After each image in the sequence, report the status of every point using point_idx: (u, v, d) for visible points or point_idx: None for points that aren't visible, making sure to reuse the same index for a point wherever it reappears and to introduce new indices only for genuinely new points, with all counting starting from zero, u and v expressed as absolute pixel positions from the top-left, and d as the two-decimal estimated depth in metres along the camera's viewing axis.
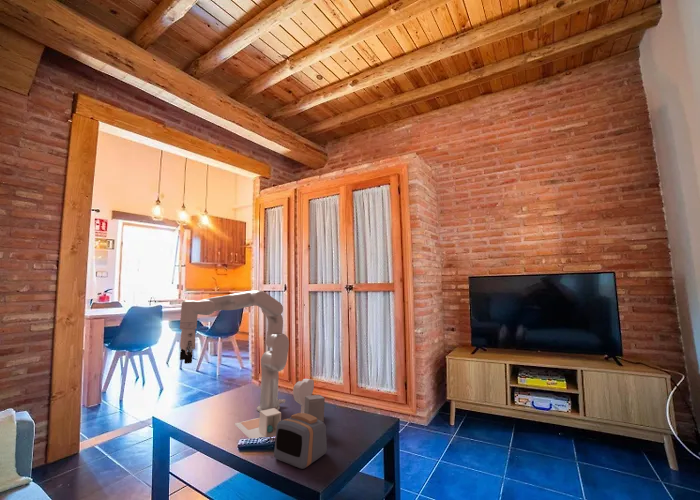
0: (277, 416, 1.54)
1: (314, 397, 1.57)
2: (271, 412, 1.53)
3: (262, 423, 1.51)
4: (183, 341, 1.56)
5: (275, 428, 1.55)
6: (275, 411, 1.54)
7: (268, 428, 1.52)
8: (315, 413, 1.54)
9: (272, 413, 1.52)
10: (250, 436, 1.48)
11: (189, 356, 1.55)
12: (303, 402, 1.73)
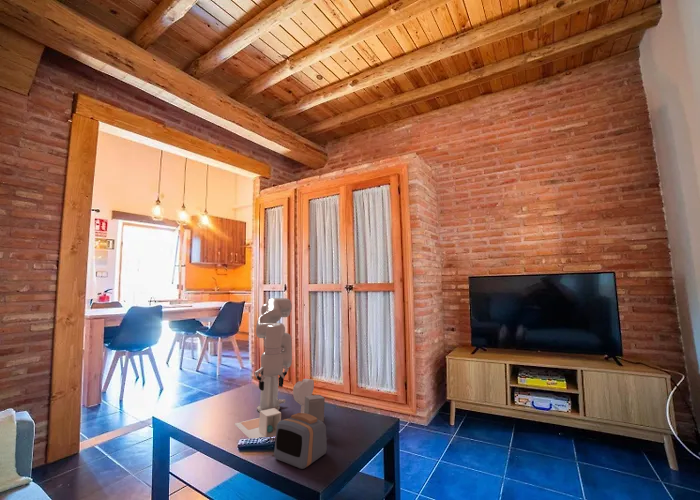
0: (277, 416, 1.54)
1: (314, 397, 1.57)
2: (271, 412, 1.53)
3: (262, 423, 1.51)
4: (279, 366, 1.56)
5: (275, 428, 1.55)
6: (275, 411, 1.54)
7: (268, 428, 1.52)
8: (315, 413, 1.54)
9: (272, 413, 1.52)
10: (250, 436, 1.48)
11: None
12: (303, 402, 1.73)
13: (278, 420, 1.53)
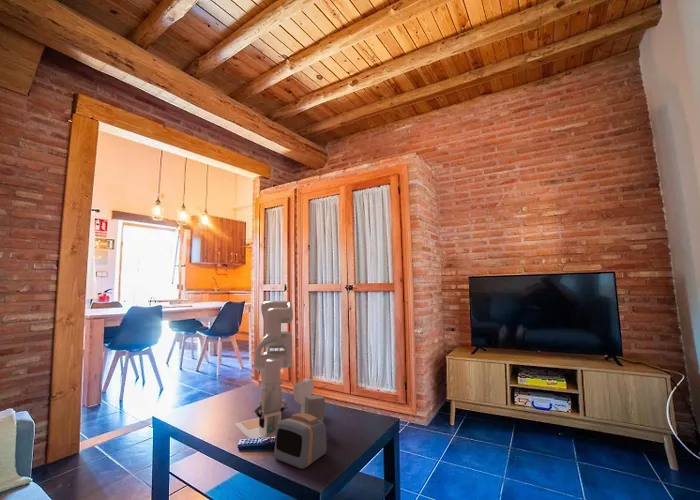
0: (277, 416, 1.54)
1: (314, 397, 1.57)
2: (271, 412, 1.53)
3: None
4: (278, 401, 1.54)
5: (275, 428, 1.55)
6: (275, 411, 1.54)
7: (268, 428, 1.52)
8: (315, 413, 1.54)
9: (272, 413, 1.52)
10: (250, 436, 1.48)
11: None
12: (303, 402, 1.73)
13: (278, 420, 1.53)
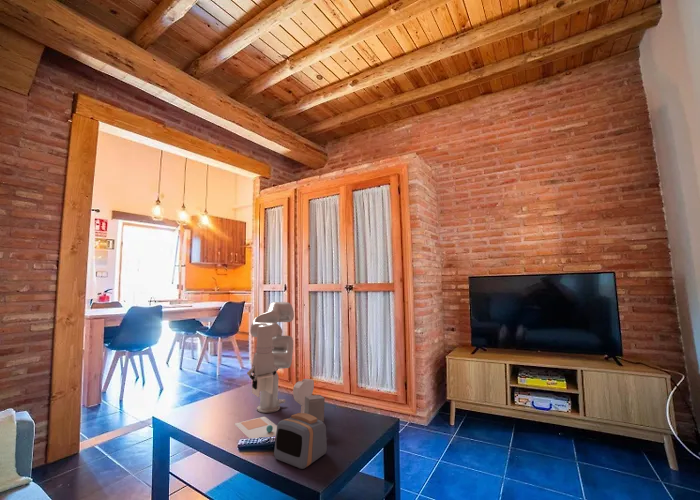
0: (269, 379, 1.62)
1: (314, 397, 1.57)
2: (264, 375, 1.60)
3: None
4: (270, 364, 1.62)
5: (267, 390, 1.63)
6: (267, 374, 1.62)
7: (268, 428, 1.52)
8: (315, 413, 1.54)
9: (265, 375, 1.59)
10: (250, 436, 1.48)
11: None
12: (303, 402, 1.73)
13: (270, 382, 1.61)
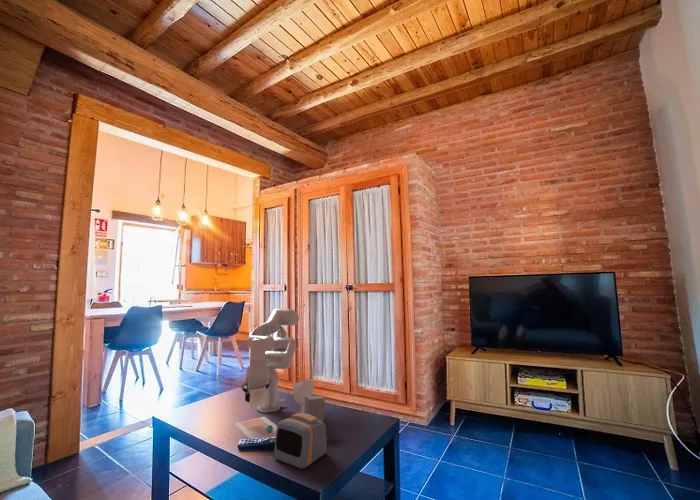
0: (262, 392, 1.64)
1: (314, 397, 1.57)
2: (256, 388, 1.63)
3: None
4: (263, 378, 1.64)
5: (260, 403, 1.64)
6: (260, 387, 1.64)
7: (268, 428, 1.52)
8: (315, 413, 1.54)
9: (257, 388, 1.61)
10: (250, 436, 1.48)
11: None
12: (303, 402, 1.73)
13: (263, 395, 1.63)
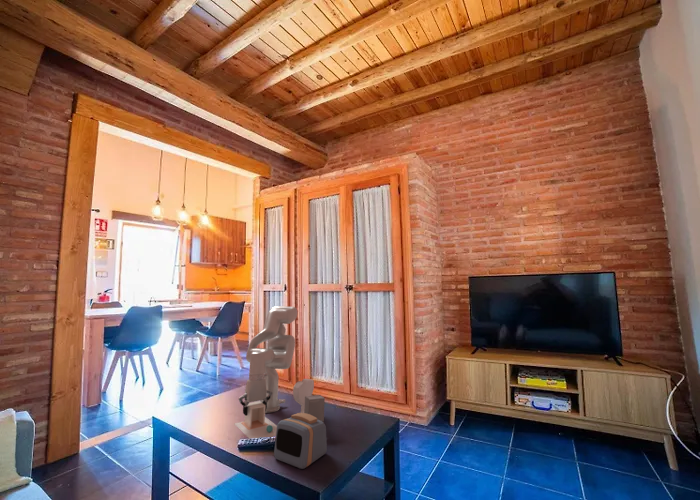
0: (262, 408, 1.63)
1: (314, 397, 1.57)
2: (256, 405, 1.62)
3: (247, 415, 1.60)
4: (263, 391, 1.63)
5: (260, 420, 1.64)
6: (260, 404, 1.63)
7: (268, 428, 1.52)
8: (315, 413, 1.54)
9: (257, 406, 1.61)
10: (250, 436, 1.48)
11: None
12: (303, 402, 1.73)
13: (262, 412, 1.62)
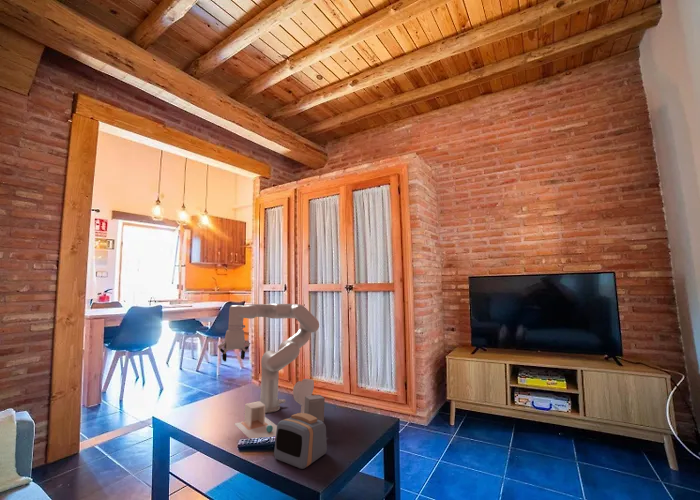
0: (262, 408, 1.63)
1: (314, 397, 1.57)
2: (256, 405, 1.62)
3: (247, 415, 1.60)
4: (241, 341, 1.78)
5: (260, 420, 1.64)
6: (260, 404, 1.63)
7: (268, 428, 1.52)
8: (315, 413, 1.54)
9: (257, 406, 1.61)
10: (250, 436, 1.48)
11: None
12: (303, 402, 1.73)
13: (262, 412, 1.62)
